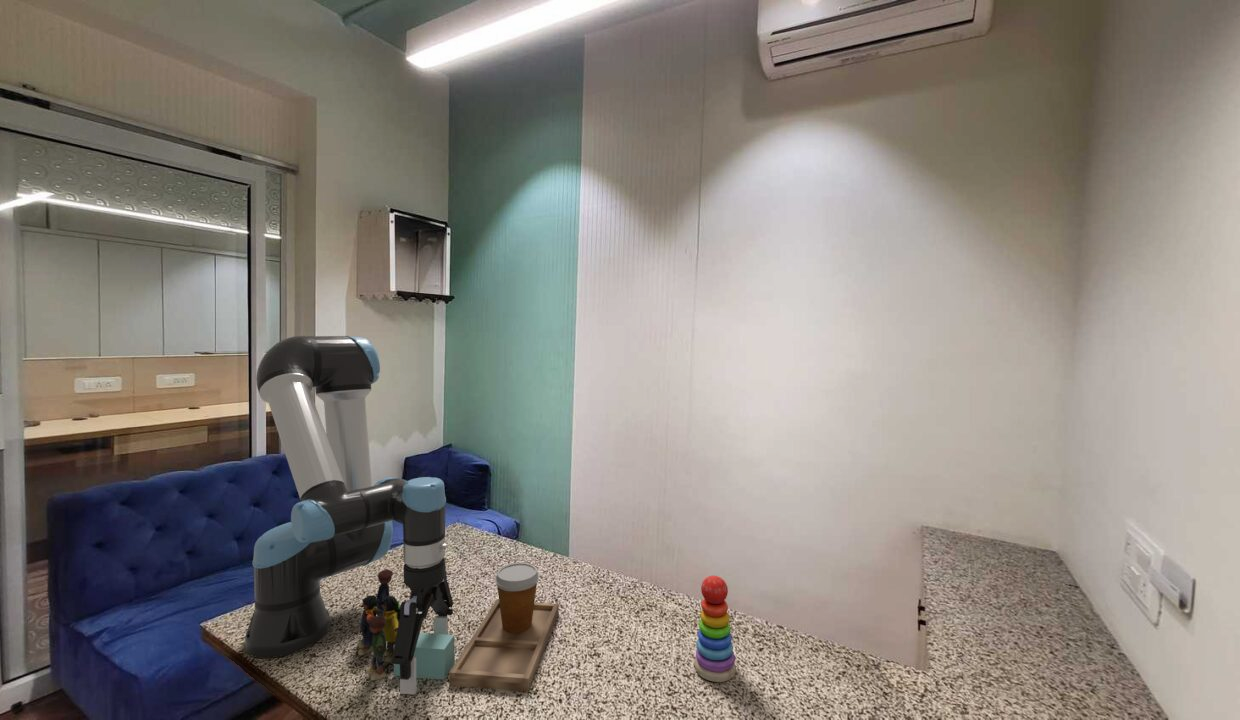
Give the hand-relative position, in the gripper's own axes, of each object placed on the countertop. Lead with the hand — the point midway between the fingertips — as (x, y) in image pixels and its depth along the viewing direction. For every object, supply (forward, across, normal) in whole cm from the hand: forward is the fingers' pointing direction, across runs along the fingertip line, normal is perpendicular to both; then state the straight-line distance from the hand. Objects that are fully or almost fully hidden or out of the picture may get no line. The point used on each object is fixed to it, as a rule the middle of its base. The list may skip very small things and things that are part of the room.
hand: (425, 668), depth 96 cm
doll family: (0, +5, +12) cm, 13 cm away
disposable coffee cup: (-1, +14, -14) cm, 20 cm away
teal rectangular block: (0, 0, 0) cm, 0 cm away
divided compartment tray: (0, +9, -14) cm, 17 cm away
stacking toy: (0, +6, -56) cm, 56 cm away
